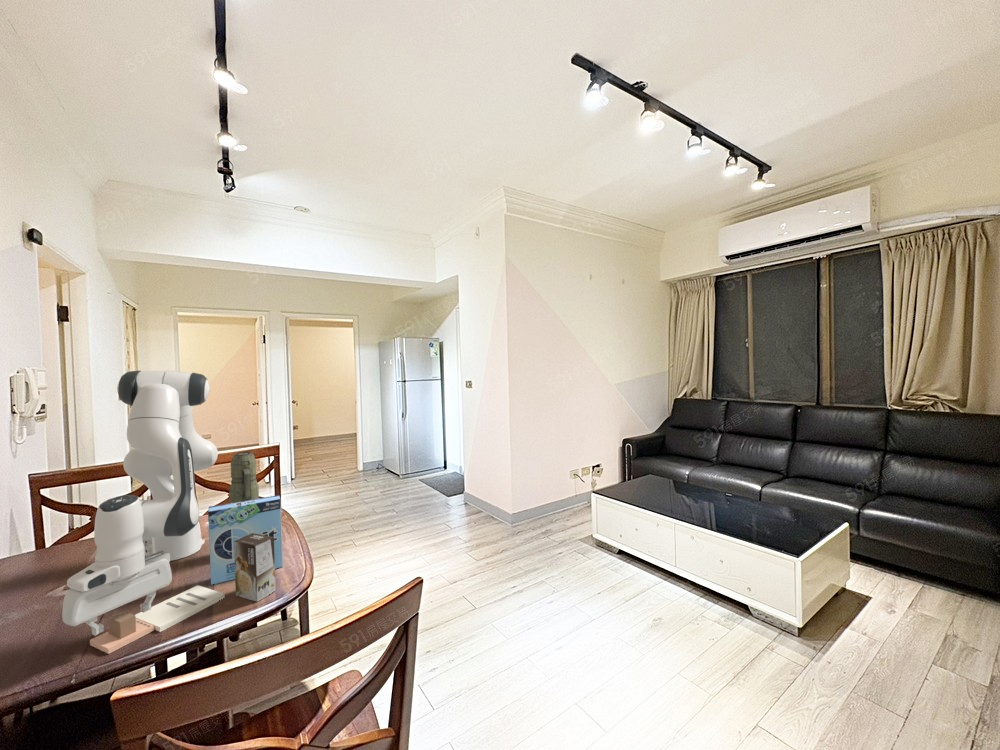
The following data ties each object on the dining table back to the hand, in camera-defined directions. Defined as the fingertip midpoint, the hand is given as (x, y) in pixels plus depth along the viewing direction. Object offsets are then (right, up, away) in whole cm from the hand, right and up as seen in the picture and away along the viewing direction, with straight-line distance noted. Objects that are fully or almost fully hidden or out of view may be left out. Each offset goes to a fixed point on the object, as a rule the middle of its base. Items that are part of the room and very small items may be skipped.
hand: (122, 621), depth 100 cm
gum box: (+11, -3, +31) cm, 33 cm away
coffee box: (+21, -4, +19) cm, 29 cm away
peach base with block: (0, -4, 0) cm, 4 cm away
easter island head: (+1, -3, +46) cm, 46 cm away
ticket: (+5, -4, +12) cm, 14 cm away
